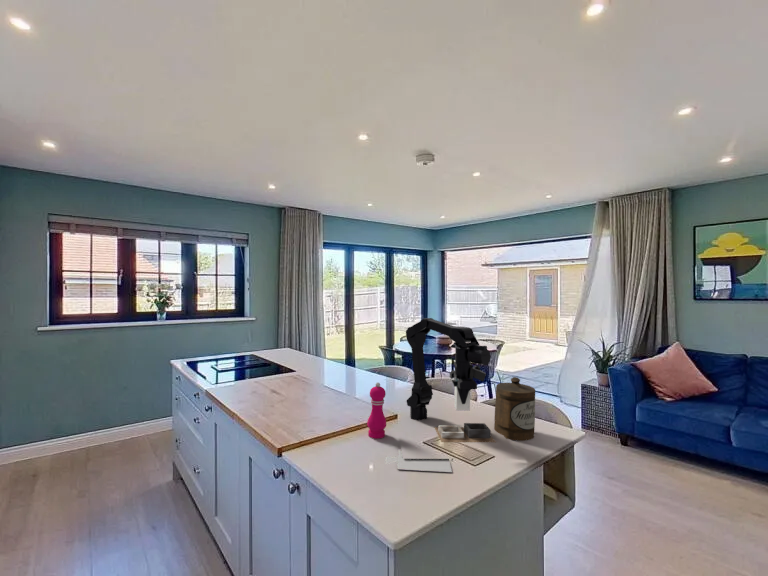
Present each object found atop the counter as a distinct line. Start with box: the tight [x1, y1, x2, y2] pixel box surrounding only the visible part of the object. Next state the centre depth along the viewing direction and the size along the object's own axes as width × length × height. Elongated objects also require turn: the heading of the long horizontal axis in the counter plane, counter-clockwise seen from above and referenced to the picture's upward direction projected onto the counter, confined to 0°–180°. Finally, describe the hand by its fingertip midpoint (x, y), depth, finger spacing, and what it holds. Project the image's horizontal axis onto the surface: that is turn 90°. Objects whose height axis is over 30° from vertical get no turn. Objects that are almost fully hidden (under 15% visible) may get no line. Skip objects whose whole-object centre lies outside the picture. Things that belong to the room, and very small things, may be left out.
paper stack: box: [384, 448, 453, 473], centre depth 116 cm, size 23×25×1 cm
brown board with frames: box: [434, 422, 497, 443], centre depth 141 cm, size 20×14×4 cm
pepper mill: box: [366, 382, 387, 440], centre depth 141 cm, size 7×7×20 cm
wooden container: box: [493, 376, 536, 442], centre depth 146 cm, size 15×15×22 cm
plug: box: [453, 386, 471, 412], centre depth 141 cm, size 5×4×9 cm
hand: (462, 402), depth 141 cm, fingers closed on plug, 4 cm apart
